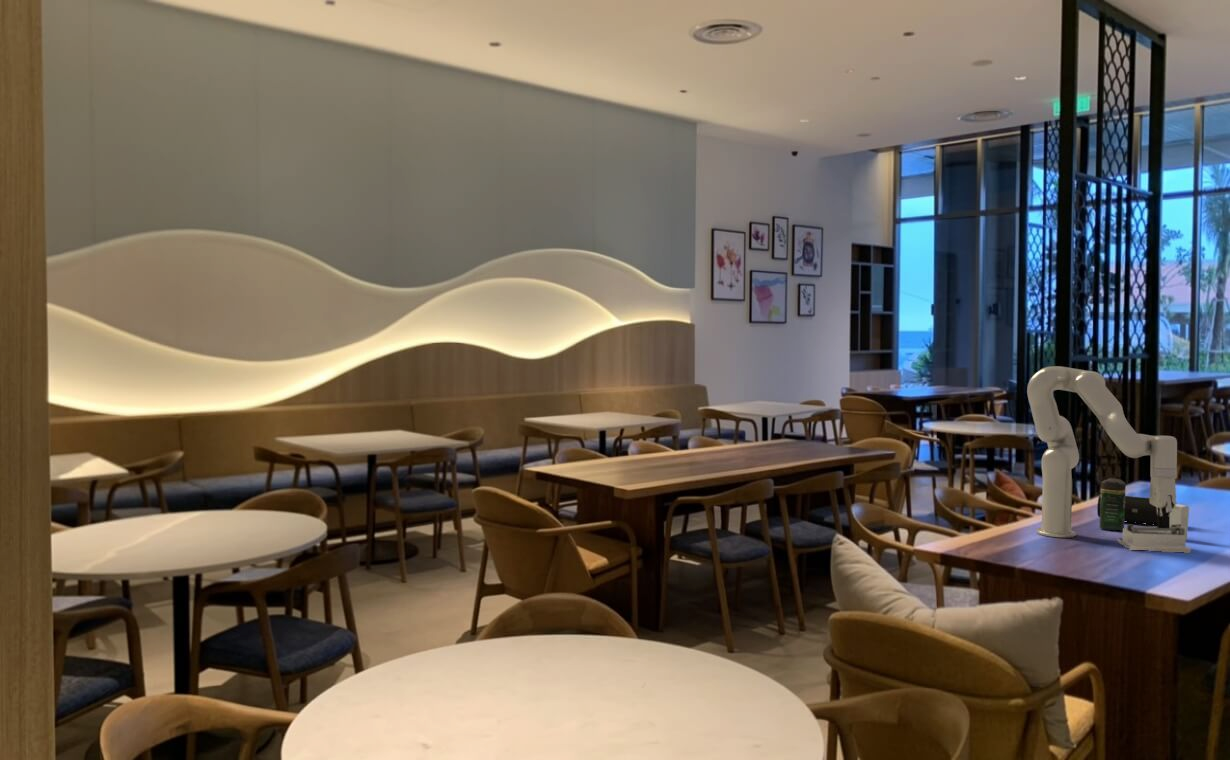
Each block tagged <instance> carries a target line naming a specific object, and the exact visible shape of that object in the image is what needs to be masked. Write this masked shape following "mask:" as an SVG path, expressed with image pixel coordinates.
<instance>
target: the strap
mask: <svg viewBox="0 0 1230 760" xmlns="http://www.w3.org/2000/svg"><path fill="white" fill-rule="evenodd" d="M1132 527H1137V528H1139V530H1142V531H1178V529H1179V528H1180V527H1172V526H1170V527H1169V528H1159V527H1157V526H1154V525H1147V526H1146V525H1145V526H1143V525H1142V526H1141V525H1140V526H1139V525H1137V526H1136V525H1135V526H1134V525H1133V526H1129V528H1130V529H1131V530H1132Z"/></svg>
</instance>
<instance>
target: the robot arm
mask: <svg viewBox="0 0 1230 760" xmlns="http://www.w3.org/2000/svg"><path fill="white" fill-rule="evenodd" d="M1026 389H1027V390H1026V393H1027V398H1028V403H1029V406H1030V411H1031V415H1032V418H1033V422H1034V423H1033V424H1034V426H1035V431H1036V433H1037V437H1038V438H1039V439H1040V440H1041V441H1042V442H1044V443H1046V445H1047V447H1048V448H1047V449H1046V450H1044V453H1043V454H1042V457H1041V465H1040V466H1041V473H1042V475H1041V476H1042V478H1041V479H1042V488H1041V489H1042V495H1041V497H1042V498H1041V527H1039V528H1037V529H1036V533H1037V534H1039V535H1041V536H1045V537H1051V538H1065V539H1066V538H1074V536H1075V537H1076V535H1077V532H1076V531H1074V530H1072V507H1073V478H1072V476H1073V475H1072V469H1074V468H1075V467H1076V466H1077V465H1078V463H1079V460H1080V454H1079V450H1078V449H1079V448H1078V446H1077V442H1076V438H1075V435H1074V431H1073V428H1072V425H1071V423H1070V421H1069V420H1068V419H1067V418H1065V417H1064V416H1063V415H1060V413H1059V409H1058V405H1057V402H1056V399H1055V397H1054V391H1057V390H1058V391H1059V390H1060V391H1066V392H1072V393H1076V394H1077V395H1078V396H1079V397H1080V398H1081V399H1082V401H1083V402H1084V404H1085V405H1087V407H1088V409H1090V411H1091V412H1092V413H1093V414H1094V415H1095V416H1096V418H1097V419H1098V421H1099V422H1100V424H1101V426H1102V427H1103V429H1104V430H1105V432H1106V434H1107V435H1108V436H1109V438H1110V439H1111V441H1112V442H1113V443H1114V444H1115V446H1116V447H1117V448H1118V449H1119V450H1120V452H1122V454H1124V456H1127V457H1128V458H1132V459H1138V458H1141V457H1143V456H1150V469H1149V470H1150V485H1149V497H1148V498H1149V502H1150V504H1151V505H1153V506H1155V507H1156V508H1157V527H1159V528H1169V527H1170V513H1171V512H1172V508H1174V507H1175V506H1176V503H1177V491H1176V489H1177V488H1176V479H1177V478H1178V440H1177V438H1176V437H1175V436H1171V435H1150V434H1144V433H1137V432H1136V431H1135V430H1134V428H1133V427H1132V426H1131V424H1130V423H1129V422H1128V420H1127V419H1126V417H1125V414H1124V410H1123V406H1122V404H1121V403H1120V401H1119V400H1118V399H1117V398H1116V397H1115V395H1113V393H1112V392H1111V391H1110V390H1109V389H1108V387H1107V386H1106V379H1105V378H1104V376H1103V375H1102V374H1101V373H1099V372H1098V371H1097V372H1096V371H1093V370H1084V369H1079V368H1072V367H1067V366H1061V365H1060V366H1058V365H1057V366H1056V365H1055V366H1054V365H1053V366H1046V367H1043V368H1041V369H1040V370H1038V371H1037V372H1035V373H1034V374H1033V375H1032V377H1030V380H1029V381H1028V383H1027V388H1026Z"/></svg>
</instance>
